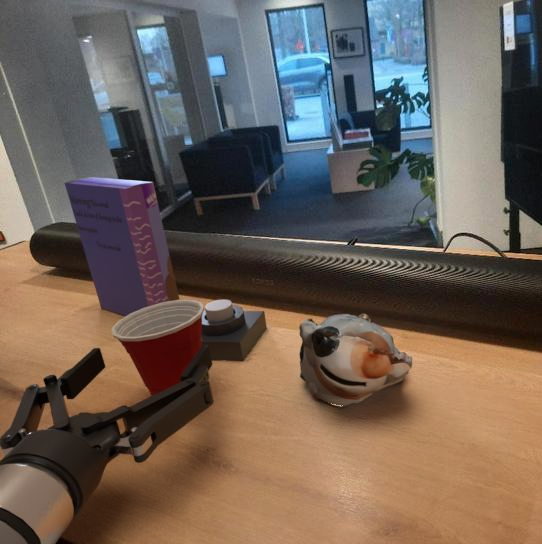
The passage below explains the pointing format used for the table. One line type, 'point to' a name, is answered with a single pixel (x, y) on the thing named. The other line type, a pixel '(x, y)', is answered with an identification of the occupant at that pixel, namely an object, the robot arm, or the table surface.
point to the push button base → (233, 334)
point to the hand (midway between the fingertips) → (153, 356)
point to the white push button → (219, 310)
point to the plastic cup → (162, 340)
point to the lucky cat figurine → (349, 358)
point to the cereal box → (123, 242)
